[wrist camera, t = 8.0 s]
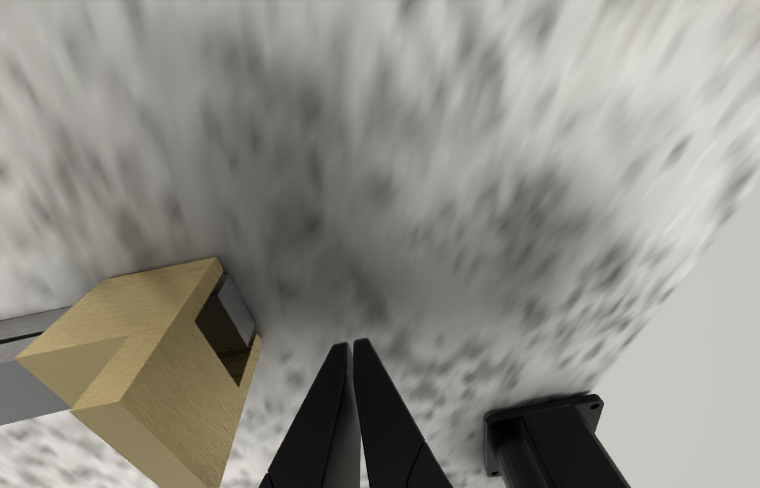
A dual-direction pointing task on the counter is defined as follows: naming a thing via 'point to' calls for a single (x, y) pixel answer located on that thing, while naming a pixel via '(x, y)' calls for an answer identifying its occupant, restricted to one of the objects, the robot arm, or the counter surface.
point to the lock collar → (150, 372)
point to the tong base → (215, 320)
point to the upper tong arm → (23, 388)
